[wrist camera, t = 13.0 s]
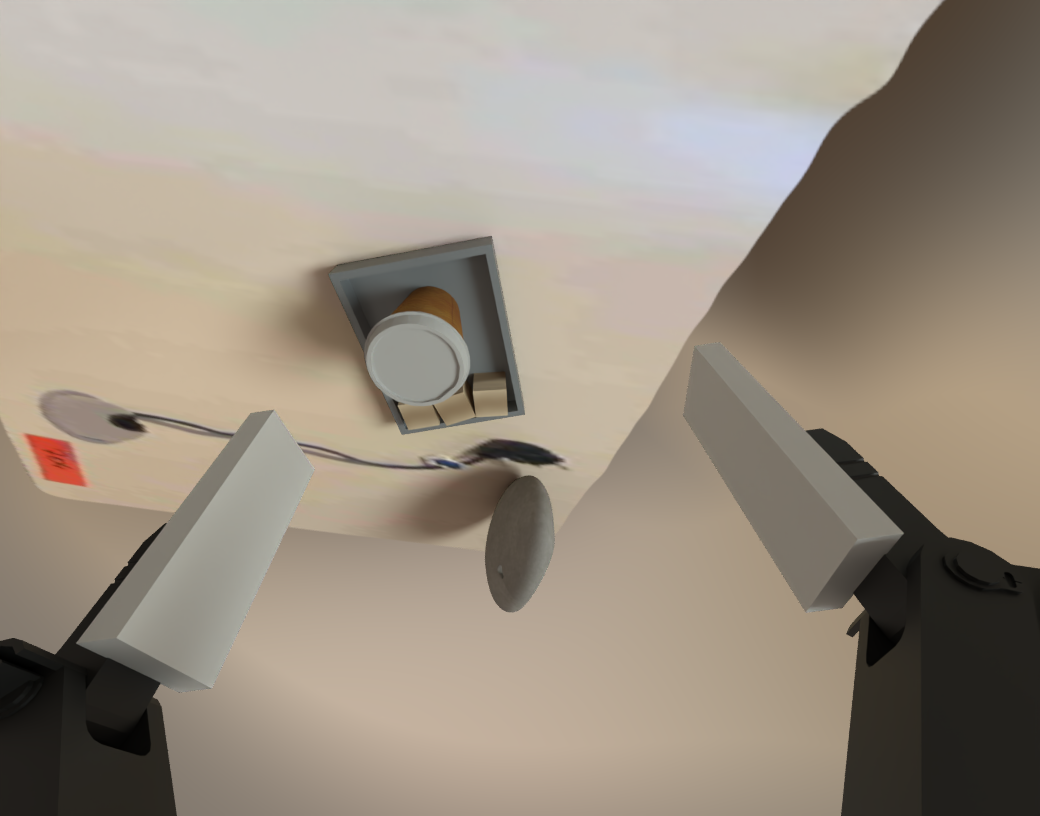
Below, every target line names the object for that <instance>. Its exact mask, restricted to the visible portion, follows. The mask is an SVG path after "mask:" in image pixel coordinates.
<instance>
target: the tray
mask: <svg viewBox="0 0 1040 816" xmlns="http://www.w3.org/2000/svg"><path fill="white" fill-rule="evenodd" d="M328 275H329V277H330V280H331V282H332V284H333V286H334V288H335V290H336V293H337V295H338V297H339V299H340V301H341V303H342V306H343V308H344V310H345V312H346V314H347V317H348V319H349V321H350V323H351V325H352V327H353V330H354V332H355V334H356V336H357V338H358V340H359V343H360V345H361V347H362V349H363V351H364V347H365V342H366V339H367V336H368V334H369V333H370V331H371V330H372V328H373V327H374V326H375V325H376V324H377V323H378V322H379V321H381V320H382V319H384V318H386V317H388V316H390V315H391V314H392V313H393V312H394V311H395V310H396V309H397V307H398V306H399V305H400V304H401V303H402V302H403V301H404V300H405V299H406V298H407V297H408V296H409V294H411V293H412V292H413V291H414V290H416V289H418V288H421V287H426V286H432V287H437V288H440V289H442V290H445V291H446V292H448V293H449V294H450V295H451V296H452V297H453V298H454V299H455V301H456V302H457V304H458V307H459V311H460V318H461V325H462V332H463V339H464V341H465V343H466V345H467V348H468V351H469V355H470V370H469V374H468V377H467V380H468V382H469V384H470V386H471V388H472V390H473V380H474V373H487V372H505V375H506V391H507V409H508V415H507V416H491V417H474V418H471V419H467V420H464V421H461V422H458V423H455V424H451V425H448V426H446V424H445V422H444V421H443V419H442V418H440V425H438V426H432V427H425V428H419V429H413V430H408V428H407V425H406V423H405V421H404V419H403V416H402V414H401V412H400V410H399V407H398V403H399V402H398V401H396V400H394V399H392V398H391V397H389V396H387V395H386V394H384V393H383V392H382V393H383V395H384V397H385V399H386V401H387V403H388V406H389V408H390V410H391V412H392V414H393V417H394V419H395V421H396V423H397V425H398V427H399V430H400V432H401V434H402V435H403V434H409V433H415V432H422V431H428V430H434V429H440V428H446V427H452V426H458V425H464V424H470V423H476V422H482V421H488V420H494V419H501V418H507V417H513V416H519V415H525V411H524V402H523V397H522V391H521V386H520V381H519V376H518V370H517V365H516V360H515V355H514V350H513V344H512V339H511V334H510V329H509V323H508V318H507V313H506V308H505V303H504V297H503V292H502V287H501V282H500V276H499V271H498V266H497V261H496V256H495V250H494V245H493V240H492V236H490V237H485V238H480V239H474V240H469V241H464V242H458V243H453V244H447V245H442V246H437V247H431V248H426V249H421V250H415V251H410V252H404V253H399V254H394V255H388V256H383V257H377V258H372V259H367V260H361V261H356V262H351V263H345V264H340V265H337V266H336V267H335V268H334V269H333V270H332V271H331V272H330V273H329V274H328Z"/></svg>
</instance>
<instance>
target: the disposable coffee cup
mask: <svg viewBox="0 0 1040 816" xmlns="http://www.w3.org/2000/svg"><path fill="white" fill-rule="evenodd" d="M364 357H365V362H366V365H367V369H368V372H369V375H370V377H371V379H372V380H373V382H374V383H375V385H376V386H377V387H378V388H379V389H380V390H381V391H382V392H383V393H384V394H386V395H387V396H389V397H391V398H392V399H394V400H396V401H398V402H401V403H404V404H408V405H412V406H430V405H434V404H437V403H440V402H443V401H445V400H446V399H448V398H450V397H451V396H452V395H453V394H454V393H455V392H457V391H458V390H459V389H460V387H461V386H462V385H463V384H464V382H465V381H466V379H467V377H468V374H469V370H470V355H469V351H468V348H467V345H466V343H465V341H464V339H463V332H462V325H461V318H460V311H459V307H458V304H457V302H456V301H455V299H454V298H453V297H452V296H451V295H450V294H449V293H448V292H446V291H445V290H442V289H440V288H437V287H432V286H426V287H421V288H418V289H416V290H414V291H413V292H412V293H411V294H409V296H408V297H407V298H406V299H405V300H404V301H403V302H402V303H401V304H400V305H399V306H398V307H397V309H396V310H395V311H394V312H393V313H392V314H391V315H390V316H388V317H386V318H384V319H382V320H381V321H379V322H378V323H377V324H376V325H375V326H374V327H373V328H372V330H371V331H370V333H369V334H368V336H367V339H366V342H365V347H364Z"/></svg>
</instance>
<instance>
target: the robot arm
mask: <svg viewBox="0 0 1040 816" xmlns="http://www.w3.org/2000/svg"><path fill="white" fill-rule="evenodd" d="M683 416H684V418H685V419H686V421H687V422H688V424H689V426H690V427H691V429H692V430H693V432H694V433H695V435H696V437H697V438H698V440H699V442H700V443H701V445H702V446H703V448H704V450H705V451H706V453H707V455H708V456H709V458H710V459H711V461H712V463H713V464H714V466H715V467H716V469H717V471H718V472H719V474H720V475H721V477H722V479H723V480H724V482H725V484H726V485H727V487H728V488H729V490H730V491H731V493H732V495H733V496H734V498H735V500H736V501H737V503H738V504H739V506H740V508H741V509H742V511H743V512H744V514H745V516H746V517H747V519H748V520H749V522H750V524H751V525H752V527H753V529H754V530H755V532H756V533H757V535H758V537H759V538H760V540H761V541H762V543H763V545H764V546H765V548H766V549H767V551H768V553H769V554H770V556H771V557H772V559H773V561H774V562H775V564H776V565H777V567H778V569H779V570H780V572H781V573H782V575H783V577H784V578H785V580H786V582H787V583H788V585H789V586H790V588H791V590H792V591H793V593H794V595H795V596H796V597H797V599H798V601H799V602H800V604H801V606H802V607H803V609H804V610H805V612H806V613H807V612H815V611H822V610H830V609H838V608H843V607H844V605H845V604H846V603H847V602H848V600H849V599H850V598H851V597H852V596H853V594H854V595H855V596H856V598H857V599H858V600H859V602H860V603H861V604H862V606H863V607H864V608H865V610H864V611H863V612H862V613H861V614H860V615H859V616H858V617H857V618H856V620H855V621H854V622H853V623H852V624H851V625H850V627H849V629H848V631H847V635H849V636H851V637H853V636H854V635H855V634H856V633H857V632H858V631H859V641H858V650H857V660H856V670H855V671H856V672H855V680H854V690H853V700H852V711H851V721H850V731H849V741H848V751H847V761H846V771H845V782H844V793H843V803H842V812H841V816H1040V569H1038V568H1031V567H1024V566H1017V565H1011V564H1010V563H1008V562H1007V561H1005V560H1004V559H1002V558H1001V557H999V556H997V555H996V554H995V553H993V552H992V551H990V550H987V549H985V548H983V547H981V546H978V545H976V544H974V543H972V542H968V541H964V540H959V539H955V538H948V537H947V536H945V535H944V534H943V533H942V532H941V531H940V530H938V529H937V528H936V527H935V526H934V525H933V524H932V523H931V522H930V521H929V520H928V519H927V518H926V517H925V516H924V515H923V514H922V513H921V512H919V511H918V510H917V509H916V508H915V507H914V506H913V505H912V504H911V503H910V502H909V501H908V500H907V499H906V498H905V497H904V496H902V494H901V493H899V492H898V491H897V490H896V489H895V488H894V487H893V486H892V485H891V484H890V483H889V482H888V481H887V480H886V479H885V478H884V477H882V476H879V475H878V472H877V471H876V470H875V469H874V468H873V467H872V466H871V465H870V464H869V463H868V462H864V460H863V459H864V458H863V457H862V456H861V455H860V454H858V453H857V452H856V451H855V450H854V449H853V448H852V447H851V446H850V445H849V444H848V443H847V442H846V441H844V440H842V439H840V438H839V437H837V436H835V435H833V434H831V433H829V432H828V431H826V430H824V429H815V430H807V431H805V430H804V429H803V428H802V427H801V426H800V425H799V424H798V423H797V422H796V421H795V420H794V419H793V418H792V417H791V416H790V415H789V413H788V412H786V410H784V408H783V407H782V406H781V405H780V404H779V403H778V402H777V401H776V400H775V399H774V398H773V397H772V396H771V395H770V394H769V393H768V392H767V391H766V390H765V388H764V387H762V385H761V384H760V383H759V382H758V381H757V380H756V379H755V378H754V377H753V376H752V375H751V374H750V373H749V372H748V371H747V370H746V369H745V368H744V367H743V366H742V365H741V364H740V363H739V362H738V360H736V358H735V357H734V356H733V355H732V354H731V353H730V352H729V351H728V350H727V349H726V348H725V347H724V346H723V345H722V344H721V343H720V342H718V343H711V344H706V345H705V344H704V345H698V346H694V352H693V358H692V364H691V370H690V376H689V383H688V389H687V395H686V401H685V407H684V413H683ZM314 470H315V469H314V467H313V466H312V464H311V463H310V461H309V460H308V458H307V457H306V456H305V454H304V453H303V451H302V450H301V448H300V447H299V445H298V444H297V442H296V441H295V439H294V438H293V436H292V435H291V434H290V432H289V431H288V429H287V428H286V426H285V425H284V423H283V422H282V420H281V419H280V417H279V416H278V414H277V413H276V412H275V410H269V411H262V412H255V413H250V415H249V416H248V417H247V419H246V420H245V421H244V423H243V424H242V425H241V427H240V428H239V429H238V431H237V432H236V433H235V434H234V436H233V437H232V438H231V440H230V441H229V442H228V444H227V445H226V446H225V448H224V449H223V450H222V452H221V453H220V454H219V456H218V457H217V458H216V460H215V461H214V462H213V463H212V465H211V466H210V467H209V469H208V470H207V471H206V473H205V474H204V475H203V477H202V478H201V479H200V481H199V482H198V483H197V485H196V486H195V487H194V489H193V490H192V491H191V492H190V494H189V495H188V496H187V498H186V499H185V500H184V502H183V503H182V504H181V506H180V507H179V508H178V510H177V511H176V512H175V514H174V515H173V516H172V517H171V519H170V520H169V522H168V523H165V524H164V525H163V526H162V527H160V528H159V529H158V530H157V531H156V532H155V533H154V534H152V535H151V536H150V537H149V538H148V539H147V540H145V541H144V542H143V544H142V545H141V546H140V548H139V549H138V550H137V551H136V552H135V554H134V555H133V557H132V558H131V559H130V560H129V561H128V566H125V567H124V568H123V569H122V570H121V572H120V573H119V574H118V576H117V577H116V578H115V583H113V584H111V585H110V586H109V587H108V588H107V590H106V591H105V592H104V594H103V595H102V596H101V597H100V599H99V600H98V601H97V603H96V604H95V605H94V606H93V608H92V609H91V610H90V611H89V613H88V614H87V615H86V617H85V618H84V619H83V620H82V622H81V623H80V624H79V626H78V627H77V628H76V629H75V631H74V632H73V633H72V635H71V636H70V637H69V638H68V640H67V641H66V642H65V644H64V645H63V646H62V647H61V649H60V650H59V651H58V652H57V653H56V654H55V655H54V654H52V653H50V652H47V651H45V650H43V649H41V648H38V647H36V646H34V645H32V644H29V643H27V642H25V641H22V640H19V639H15V638H11V639H7V640H3V641H0V816H177V815H176V807H175V800H174V793H173V786H172V778H171V771H170V764H169V758H168V749H167V743H166V735H165V728H164V721H163V714H162V707H161V705H160V703H159V701H158V700H157V699H155V698H153V695H154V694H155V692H156V690H157V688H158V687H159V685H160V684H162V685H164V686H166V687H168V688H170V689H173V690H175V691H177V692H179V693H180V692H187V691H195V690H203V689H211V688H212V687H213V685H214V683H215V681H216V678H217V676H218V674H219V672H220V670H221V668H222V666H223V664H224V661H225V659H226V657H227V655H228V653H229V651H230V649H231V647H232V644H233V642H234V640H235V638H236V636H237V634H238V632H239V629H240V627H241V625H242V623H243V621H244V619H245V617H246V614H247V612H248V610H249V608H250V606H251V604H252V602H253V600H254V597H255V595H256V593H257V591H258V589H259V587H260V585H261V582H262V580H263V578H264V576H265V574H266V572H267V570H268V567H269V566H270V563H271V561H272V559H273V557H274V555H275V553H276V551H277V549H278V546H279V544H280V542H281V540H282V538H283V536H284V534H285V532H286V529H287V527H288V525H289V523H290V521H291V519H292V517H293V514H294V512H295V510H296V508H297V506H298V504H299V502H300V500H301V497H302V495H303V493H304V491H305V489H306V487H307V485H308V483H309V480H310V478H311V476H312V474H313V472H314Z"/></svg>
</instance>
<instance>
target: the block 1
mask: <svg viewBox="0 0 1040 816" xmlns="http://www.w3.org/2000/svg"><path fill="white" fill-rule="evenodd" d="M398 407H399V410H400V412H401V414H402V416H403V419H404V421H405V423H406V425H407V428H408V430H413V429H419V428H425V427H432V426H438V425H440V418H441V416H440V414H439V413H438V411H437V409H436V408H435V406H434V405H430V406H412V405H408V404H404V403H401V402H399V403H398Z"/></svg>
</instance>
